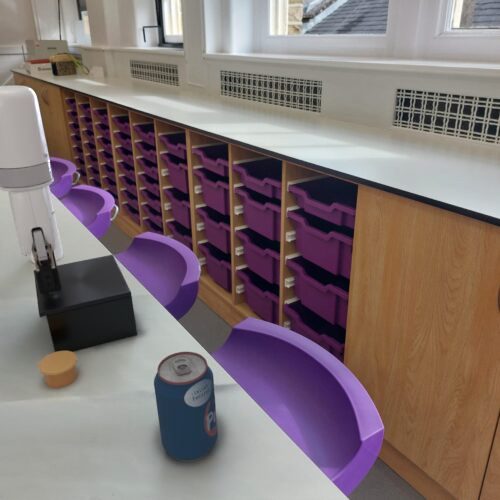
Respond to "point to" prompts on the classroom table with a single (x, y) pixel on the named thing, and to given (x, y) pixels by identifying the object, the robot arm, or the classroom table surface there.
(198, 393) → the soda can
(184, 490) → the classroom table surface
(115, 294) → the lid
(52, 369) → the cylinder
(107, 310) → the black hinged storage box
